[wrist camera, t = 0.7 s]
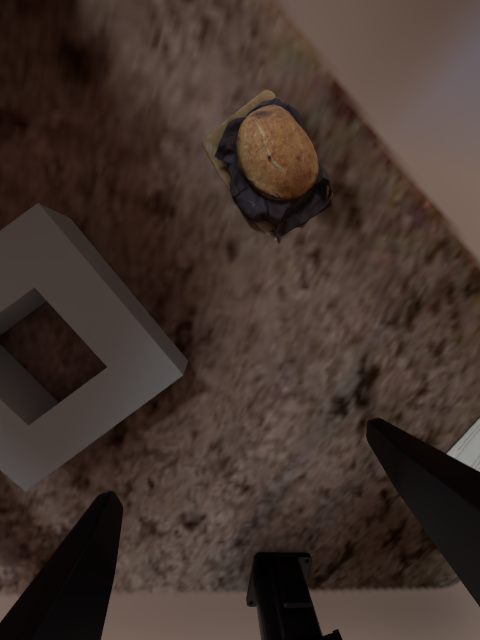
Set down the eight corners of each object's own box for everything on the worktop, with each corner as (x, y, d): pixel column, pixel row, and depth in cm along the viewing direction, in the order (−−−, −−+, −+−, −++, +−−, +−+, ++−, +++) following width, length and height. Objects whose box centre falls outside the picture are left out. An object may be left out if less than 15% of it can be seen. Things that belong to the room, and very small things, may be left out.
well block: (188, 361, 22) (183, 375, 18) (55, 459, 22) (25, 492, 18) (70, 217, 19) (38, 202, 15) (-83, 330, 19) (-150, 340, 15)
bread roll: (194, 148, 20) (190, 117, 16) (273, 88, 20) (285, 43, 16) (266, 252, 22) (276, 245, 18) (338, 197, 22) (363, 179, 18)
